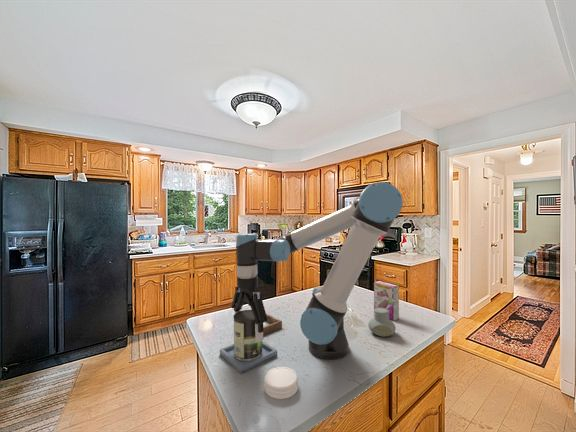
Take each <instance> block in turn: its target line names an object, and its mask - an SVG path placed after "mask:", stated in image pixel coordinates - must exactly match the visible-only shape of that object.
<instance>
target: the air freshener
mask: <svg viewBox="0 0 576 432" xmlns="http://www.w3.org/2000/svg"><path fill="white" fill-rule="evenodd" d="M373 314H374V315H373V318H371V319H370V320H369V321H368V328H369V331H371V332H372V333H373V334H375V335H377V336H379V337H381V338H385V337H390V336H392V335H393V334H394V333H395V332H396V324H395V323H394V321H392V320H389V311H388V310H387V309H385V308H376V309H374V308H373Z"/></svg>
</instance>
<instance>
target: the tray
mask: <svg viewBox="0 0 576 432" xmlns="http://www.w3.org/2000/svg"><path fill="white" fill-rule="evenodd" d="M219 356H220V357H222V358H223V359H224V360H225V361H226V362H227V363H228V364H230V365H231V367H233V368H234V369H235V370H236V371H237V372H239V373H240V374H241V375H242V374H244V373H246V372H249V370H252V369H254V368H256V367H258V366H260V365H262V364H264V363H266V362H268V361H270V360H272V359H274V358H276V357H277V356H278V349H275V347H273V346H271V345H269V344H268V343H266V342H264V340H262V355H261V356H260V357H258V358H256V359H254V360H251V361H241V360H238V359H236V358H235V356H234V343H233V344H230V345H228V346H224V347H223V348H220V349H219Z"/></svg>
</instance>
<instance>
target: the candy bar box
mask: <svg viewBox="0 0 576 432" xmlns="http://www.w3.org/2000/svg"><path fill="white" fill-rule="evenodd" d="M399 289H400V287H399V285H396V284H393V283H389V282H386V281H381V280H378V281H374V282H373V310H374V309H376V308H385V309H387V310H388V311H389V320H391V321H392V322H395V321H397V320H399V319H400V299H399V298H400V295H399V294H400V292H399V291H400V290H399Z"/></svg>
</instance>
